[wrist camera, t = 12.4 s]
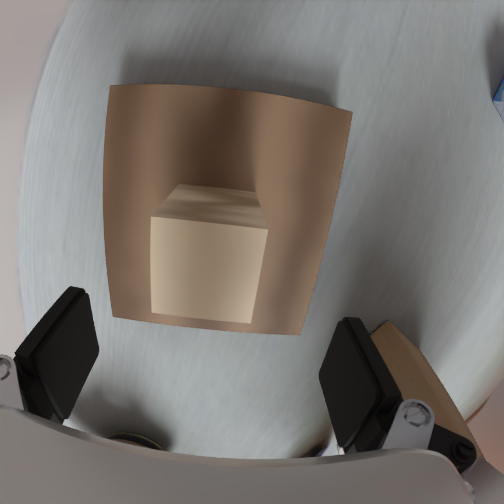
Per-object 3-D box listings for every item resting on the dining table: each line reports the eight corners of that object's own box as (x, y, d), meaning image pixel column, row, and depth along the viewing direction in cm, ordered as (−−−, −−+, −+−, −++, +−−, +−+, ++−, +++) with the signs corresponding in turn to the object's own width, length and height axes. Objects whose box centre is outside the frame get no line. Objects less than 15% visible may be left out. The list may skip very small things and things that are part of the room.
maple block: (255, 192, 19) (268, 229, 12) (244, 261, 21) (250, 323, 14) (179, 183, 18) (150, 216, 12) (174, 253, 20) (151, 312, 14)
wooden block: (363, 396, 34) (409, 520, 16) (319, 373, 31) (365, 533, 12) (421, 351, 31) (492, 471, 13) (387, 317, 28) (479, 474, 10)
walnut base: (337, 113, 19) (352, 112, 17) (293, 314, 27) (299, 335, 24) (125, 89, 18) (110, 85, 15) (123, 297, 25) (112, 316, 22)
